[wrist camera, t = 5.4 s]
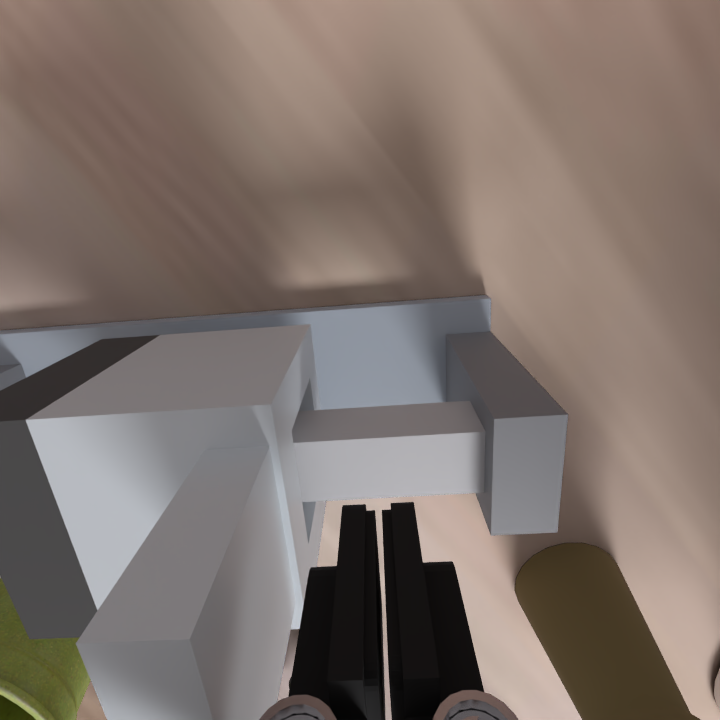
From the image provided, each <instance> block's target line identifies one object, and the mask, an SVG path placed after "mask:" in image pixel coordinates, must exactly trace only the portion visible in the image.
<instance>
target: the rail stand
mask: <svg viewBox="0 0 720 720" xmlns="http://www.w3.org/2000/svg"><path fill="white" fill-rule="evenodd" d="M490 322H491V298H490V297H488V296H487V295H478V296H465V297H451V298H437V299H424V300H410V301H396V302H383V303H369V304H356V305H342V306H328V307H315V308H301V309H287V310H274V311H260V312H246V313H233V314H219V315H205V316H192V317H178V318H165V319H151V320H137V321H124V322H110V323H96V324H83V325H69V326H55V327H42V328H28V329H14V330H1V331H0V391H1V390H3V389H5V388H7V387H9V386H10V385H12V384H14V383H16V382H18V381H20V380H22V379H24V378H26V377H28V376H30V375H32V374H34V373H36V372H38V371H40V370H42V369H44V368H46V367H48V366H50V365H52V364H54V363H56V362H58V361H60V360H62V359H64V358H66V357H68V356H70V355H72V354H74V353H75V352H77V351H79V350H81V349H83V348H85V347H87V346H89V345H91V344H93V343H95V342H97V341H99V340H101V339H110V338H124V337H138V336H152V335H166V334H180V333H194V332H208V331H222V330H236V329H250V328H264V327H278V326H292V325H306V324H311V332H312V341H313V349H314V357H315V365H316V374H317V382H318V390H319V398H320V407H321V410H310V411H298V414H297V417H296V420H295V423H294V426H293V428H292V437H293V444H294V451H295V457H296V464H297V471H298V477H299V484H300V491H301V497H302V502H314V501H333V500H353V499H372V498H391V497H410V496H429V495H448V494H468V493H476V496H477V499H478V501H479V504H480V507H481V510H482V512H483V515H484V518H485V521H486V523H487V526H488V529H489V532H490V534H491V536H492V535H513V534H534V533H555V532H558V521H559V510H560V499H561V488H562V477H563V466H564V455H565V444H566V433H567V422H568V414H567V413H566V412H565V411H564V410H563V408H562V407H561V406H560V405H559V404H558V403H557V402H556V401H555V400H554V399H553V398H552V397H551V396H550V395H549V394H548V392H547V391H546V390H545V389H544V388H543V387H542V386H541V385H540V384H539V383H538V382H537V381H536V380H535V379H534V378H533V376H532V375H531V374H530V373H529V372H528V371H527V370H526V369H525V368H524V367H523V366H522V365H521V364H520V363H519V361H518V360H517V359H516V358H515V357H514V356H513V355H512V354H511V353H510V352H509V351H508V350H507V349H506V348H505V347H504V345H503V344H502V343H501V342H500V341H499V340H498V339H497V338H496V337H495V336H494V335H493V334H492V333H491V332H490Z"/></svg>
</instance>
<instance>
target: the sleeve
mask: <svg viewBox="0 0 720 720" xmlns="http://www.w3.org/2000/svg"><path fill="white" fill-rule="evenodd" d="M310 410H321V407H320V398H319V390H318V382H317V374H316V365H315V357H314V349H313V341H312V332H311V324H306V325H292V326H278V327H264V328H250V329H236V330H222V331H208V332H194V333H180V334H166V335H160V336H158V337H156V338H155V339H153V340H152V341H150V342H148V343H147V344H145V345H144V346H142V347H140V348H139V349H137V350H136V351H134V352H133V353H131V354H129V355H128V356H126V357H125V358H123V359H121V360H120V361H118V362H117V363H115V364H114V365H112V366H110V367H109V368H107V369H106V370H104V371H102V372H101V373H99V374H98V375H96V376H94V377H93V378H91V379H90V380H88V381H87V382H85V383H83V384H82V385H80V386H79V387H77V388H75V389H74V390H72V391H71V392H69V393H67V394H66V395H64V396H63V397H61V398H60V399H58V400H56V401H55V402H53V403H52V404H50V405H48V406H47V407H45V408H44V409H42V410H40V411H39V412H37V413H36V414H34V415H33V416H31V417H29V418H28V419H26V423H27V425H28V428H29V430H30V433H31V436H32V438H33V441H34V444H35V446H36V449H37V452H38V454H39V457H40V460H41V462H42V465H43V468H44V470H45V473H46V475H47V478H48V481H49V483H50V486H51V489H52V491H53V494H54V497H55V499H56V502H57V505H58V507H59V510H60V513H61V515H62V518H63V520H64V523H65V526H66V528H67V531H68V534H69V536H70V539H71V542H72V544H73V547H74V550H75V552H76V555H77V558H78V560H79V563H80V565H81V568H82V571H83V573H84V576H85V579H86V581H87V584H88V587H89V589H90V592H91V595H92V597H93V600H94V603H95V605H96V608H97V610H98V611H97V612H96V614H95V615H94V617H93V618H92V620H91V621H90V623H89V624H88V626H87V627H86V629H85V630H84V632H83V633H82V635H81V636H80V638H79V639H78V641H77V642H76V646H77V648H78V650H79V653H80V655H81V658H82V660H83V663H84V665H85V667H86V670H87V672H88V675H89V677H90V679H91V682H92V684H93V687H94V689H95V691H96V694H97V696H98V699H99V701H100V704H101V706H102V708H103V711H104V713H105V716H106V718H107V720H259V719H260V718H261V717H262V715H263V714H264V713H265V712H266V711H267V709H269V708H270V707H271V706H273V705H274V704H275V703H277V700H278V695H279V689H280V684H281V678H282V673H283V668H284V662H285V657H286V652H287V646H288V641H289V635H290V630H291V629H300V623H301V617H302V611H303V605H304V598H305V592H306V586H307V580H308V575H309V570H310V568H311V567H317V562H318V555H319V548H320V541H321V534H322V528H323V521H324V514H325V507H326V501H314V502H302V497H301V491H300V484H299V477H298V471H297V464H296V457H295V451H294V444H293V437H292V428H293V426H294V423H295V420H296V417H297V414H298V411H310Z"/></svg>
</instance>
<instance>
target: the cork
mask: <svg viewBox="0 0 720 720" xmlns="http://www.w3.org/2000/svg"><path fill="white" fill-rule="evenodd" d="M515 592H516V596H517V599H518V602H519V604H520V605H521V607H522V609H523V611H524V613H525V615H526V616H527V618H528V620H529V622H530V624H531V626H532V628H533V629H534V631H535V633H536V635H537V637H538V639H539V640H540V642H541V644H542V646H543V648H544V650H545V652H546V653H547V655H548V657H549V659H550V661H551V663H552V665H553V666H554V668H555V670H556V672H557V674H558V676H559V677H560V679H561V681H562V683H563V685H564V687H565V689H566V690H567V692H568V694H569V696H570V698H571V700H572V701H573V703H574V705H575V707H576V709H577V711H578V713H579V714H580V716H581V718H582V720H700V719H699V718H697V717H695V716H694V715H692V714H691V713H690V711H689V709H688V707H687V705H686V703H685V701H684V699H683V697H682V695H681V693H680V691H679V689H678V687H677V685H676V683H675V681H674V679H673V676H672V674H671V672H670V670H669V668H668V666H667V664H666V662H665V660H664V658H663V656H662V654H661V652H660V650H659V648H658V646H657V644H656V642H655V640H654V638H653V636H652V634H651V632H650V630H649V628H648V626H647V624H646V622H645V620H644V618H643V615H642V613H641V611H640V609H639V607H638V605H637V603H636V601H635V599H634V597H633V595H632V593H631V591H630V589H629V587H628V585H627V583H626V581H625V579H624V577H623V575H622V573H621V571H620V569H619V567H618V565H617V563H616V562H615V561H614V559H613V558H612V557H611V555H610V554H608V553H607V552H605V551H603V550H602V549H600V548H599V547H596V546H592V545H588V544H584V543H563V544H560V545H556V546H552V547H548V548H546V549H544V550H543V551H541V552H539V553H537V554H535V555H533V556H532V557H531V558H530V559H529V560H528V561H527V562H526V563H525V564H524V565H523V566H522V568H521V570H520V572H519V574H518V576H517V577H516V584H515Z"/></svg>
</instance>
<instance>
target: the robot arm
mask: <svg viewBox="0 0 720 720" xmlns="http://www.w3.org/2000/svg"><path fill="white" fill-rule="evenodd" d="M382 522H383V546H384V570H385V594H386V618H387V642H388V665H389V683H390V698H391V712H392V720H518V718H517V717H516V715H515V714H514V713H513V712H512V711H511V710H510V709H509V708H508V707H507V706H506V704H505V703H504V702H502V701H500V700H499V699H497V698H496V697H494V696H492V695H491V694H488V693H485V692H484V689H483V685H482V681H481V677H480V672H479V668H478V664H477V660H476V655H475V651H474V647H473V643H472V638H471V634H470V630H469V626H468V621H467V617H466V613H465V609H464V604H463V600H462V596H461V592H460V587H459V583H458V579H457V574H456V570H455V567H454V564H453V562H428V563H423V562H422V555H421V548H420V541H419V535H418V528H417V521H416V514H415V508H414V503H413V502H406V503H391V510H382ZM714 696H715V700H716V704H717V707H718V709H719V710H720V668H719V671H718V674H717V677H716V680H715V688H714ZM259 720H385V690H384V659H383V627H382V601H381V586H380V573H379V559H378V546H377V532H376V518H375V510H373V511H366V505H365V504H364V505H343V507H342V516H341V527H340V538H339V550H338V561H337V566H330V567H311V568H310V570H309V575H308V580H307V586H306V592H305V598H304V605H303V611H302V617H301V623H300V629H299V635H298V641H297V648H296V654H295V660H294V666H293V672H292V678H291V684H290V690H289V697H287V698H284V699H282V700H280V701H278V702H277V703H275V704H274V705H273V706H271V707H270V708H269V709H267V711H266V712H265V713H264V714H263V715H262V717H261V718H260V719H259Z"/></svg>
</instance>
